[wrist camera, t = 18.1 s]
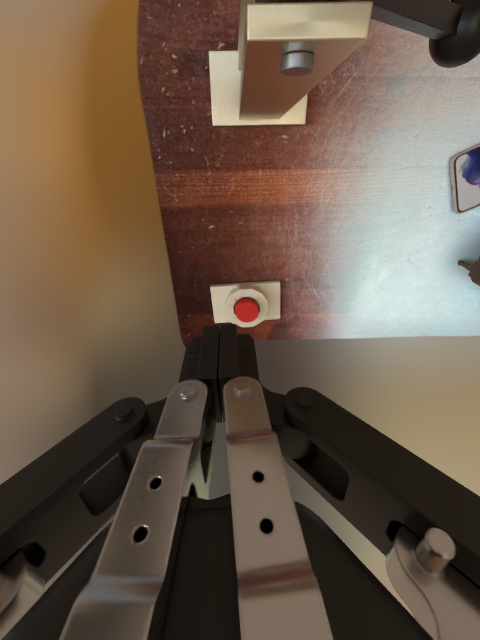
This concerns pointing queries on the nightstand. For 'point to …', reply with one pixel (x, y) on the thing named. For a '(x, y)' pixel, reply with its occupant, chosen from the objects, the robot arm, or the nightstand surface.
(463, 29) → the switch lever
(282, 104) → the switch bracket
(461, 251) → the nightstand surface
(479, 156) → the smartphone
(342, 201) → the nightstand surface
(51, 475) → the robot arm
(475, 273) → the alarm clock
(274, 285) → the switch box
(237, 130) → the nightstand surface
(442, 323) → the nightstand surface
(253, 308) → the power button
